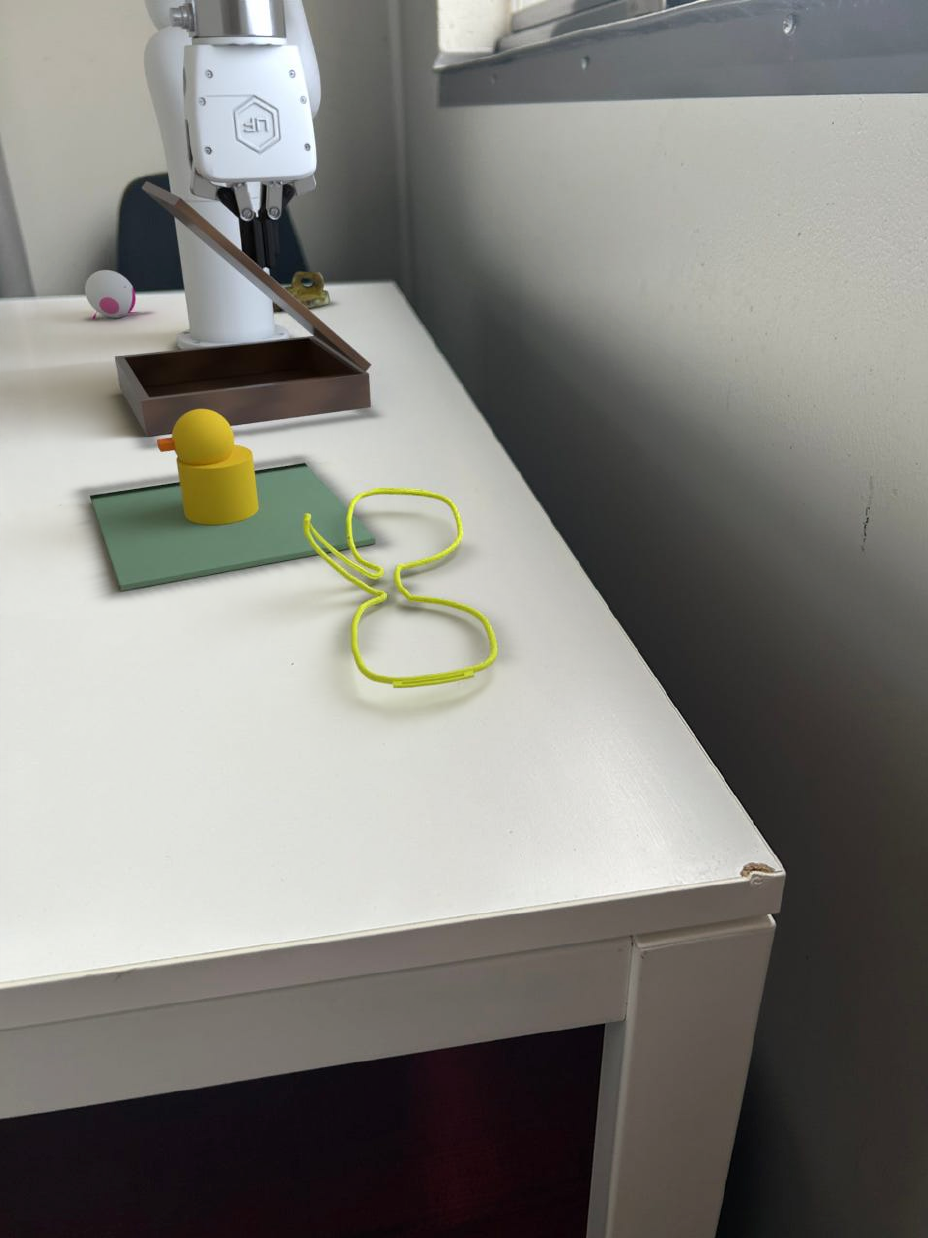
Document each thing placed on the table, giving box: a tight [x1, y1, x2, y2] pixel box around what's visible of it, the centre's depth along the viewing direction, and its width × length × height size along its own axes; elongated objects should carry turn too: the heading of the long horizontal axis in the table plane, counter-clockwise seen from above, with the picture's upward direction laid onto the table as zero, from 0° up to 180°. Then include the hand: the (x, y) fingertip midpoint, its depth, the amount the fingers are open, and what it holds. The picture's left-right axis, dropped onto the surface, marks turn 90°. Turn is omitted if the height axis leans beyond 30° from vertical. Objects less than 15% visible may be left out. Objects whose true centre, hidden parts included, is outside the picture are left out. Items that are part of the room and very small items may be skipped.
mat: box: [89, 462, 377, 592], centre depth 68 cm, size 18×16×1 cm
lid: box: [141, 181, 372, 372], centre depth 87 cm, size 20×17×1 cm
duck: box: [156, 409, 259, 525], centre depth 66 cm, size 6×5×7 cm
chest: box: [114, 335, 372, 438], centre depth 91 cm, size 20×17×4 cm
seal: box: [272, 270, 331, 312], centre depth 132 cm, size 9×5×15 cm
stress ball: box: [84, 269, 140, 320], centre depth 127 cm, size 8×8×7 cm
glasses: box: [303, 487, 499, 689], centre depth 57 cm, size 25×10×5 cm, turn 7°
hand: (262, 266), depth 87 cm, fingers closed
